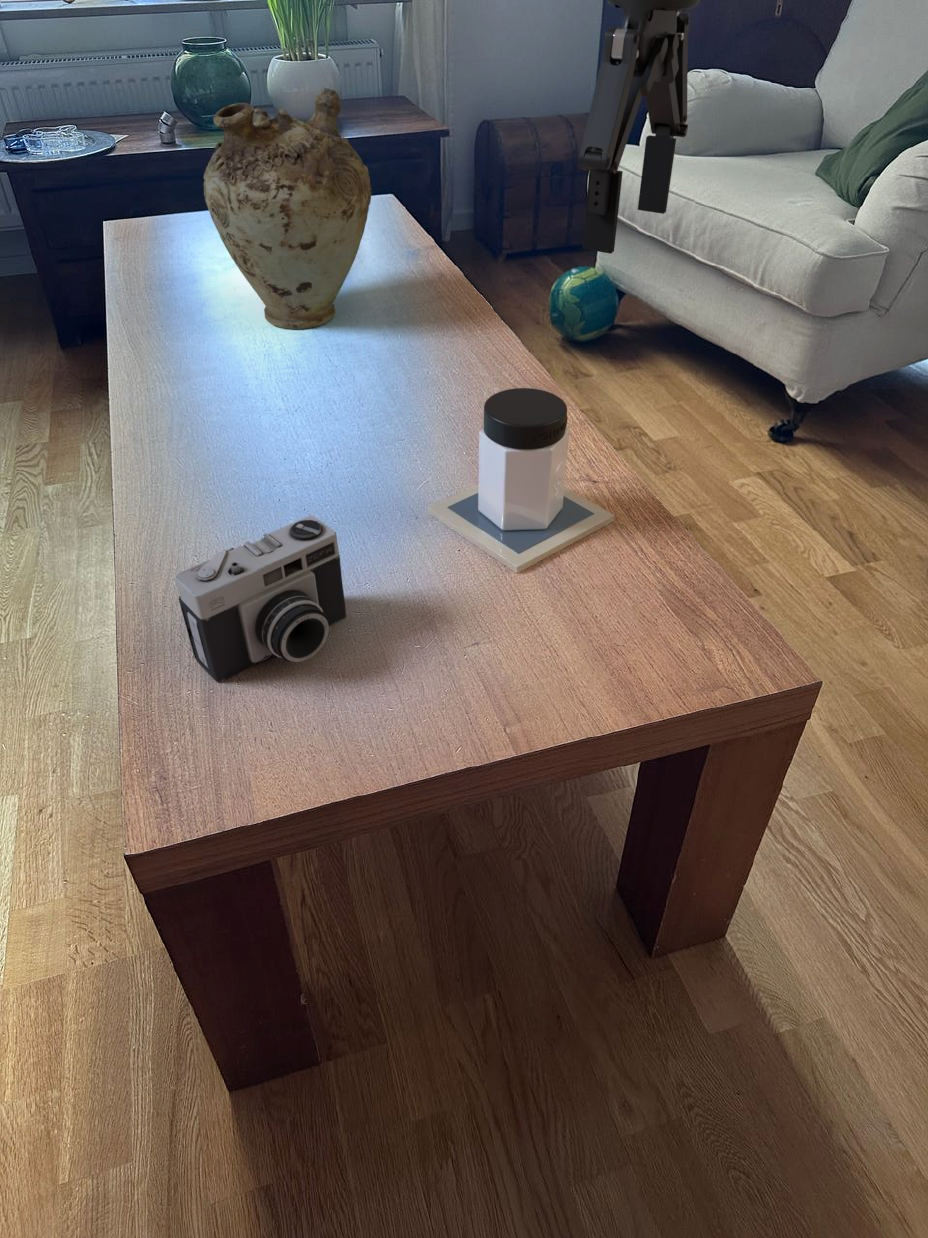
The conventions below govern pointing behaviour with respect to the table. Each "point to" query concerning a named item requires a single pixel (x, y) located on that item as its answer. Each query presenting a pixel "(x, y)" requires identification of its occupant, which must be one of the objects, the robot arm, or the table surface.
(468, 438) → the table surface
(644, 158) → the robot arm
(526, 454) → the jar
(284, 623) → the camera
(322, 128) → the vase
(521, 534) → the tile
